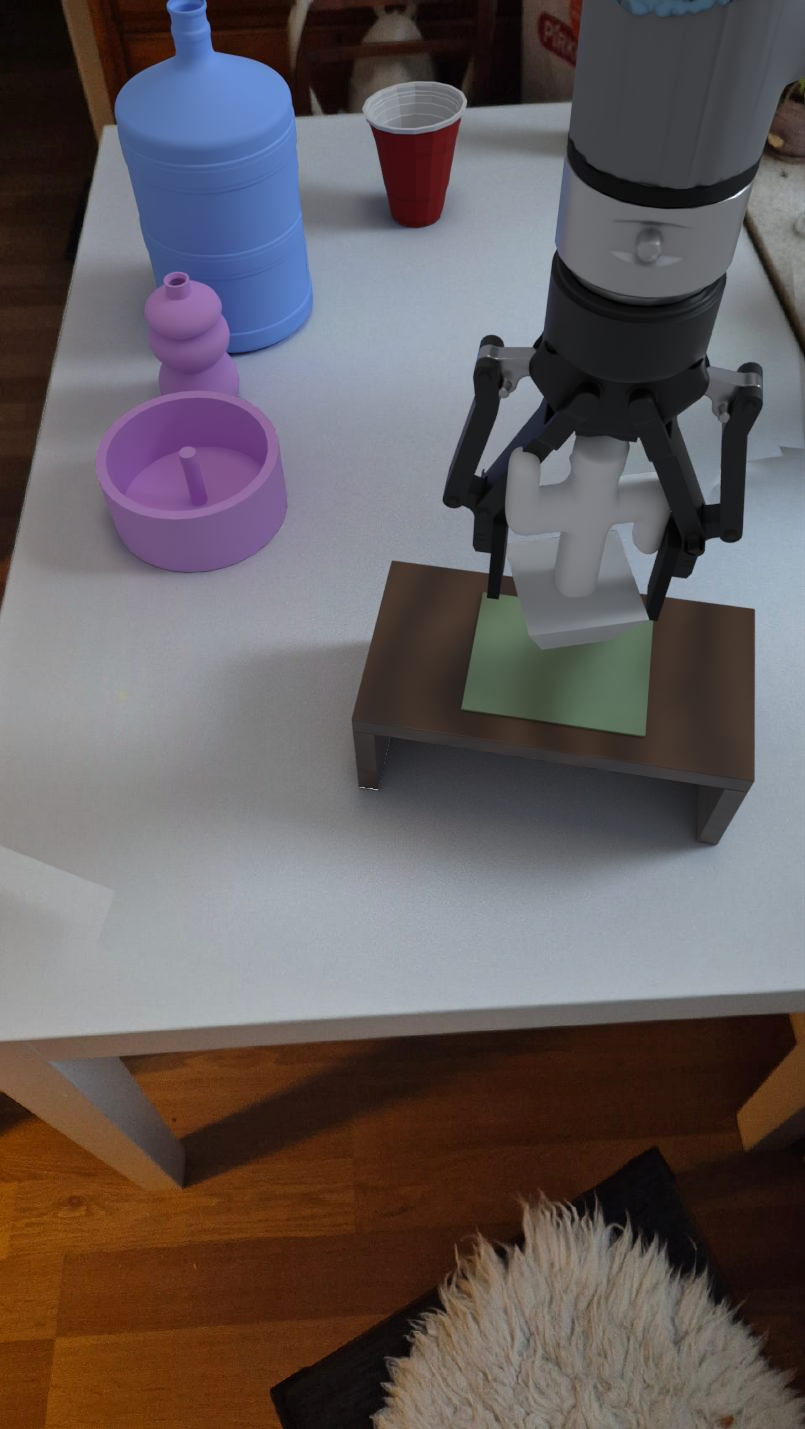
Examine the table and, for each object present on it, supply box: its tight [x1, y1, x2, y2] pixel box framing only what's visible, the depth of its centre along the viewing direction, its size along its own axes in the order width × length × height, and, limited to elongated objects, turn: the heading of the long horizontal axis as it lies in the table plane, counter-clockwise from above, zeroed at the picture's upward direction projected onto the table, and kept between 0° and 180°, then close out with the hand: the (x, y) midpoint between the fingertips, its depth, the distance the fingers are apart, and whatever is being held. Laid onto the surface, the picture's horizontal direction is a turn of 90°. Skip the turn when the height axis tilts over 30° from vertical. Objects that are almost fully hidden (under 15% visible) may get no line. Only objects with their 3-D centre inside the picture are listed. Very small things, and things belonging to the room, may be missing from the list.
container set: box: [94, 272, 288, 573], centre depth 87 cm, size 25×15×13 cm, turn 5°
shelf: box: [351, 559, 756, 846], centre depth 72 cm, size 26×14×10 cm, turn 79°
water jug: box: [114, 0, 314, 354], centre depth 93 cm, size 16×16×28 cm
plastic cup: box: [361, 81, 468, 228], centre depth 108 cm, size 11×11×12 cm
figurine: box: [505, 435, 671, 650], centre depth 58 cm, size 7×9×15 cm
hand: (573, 592), depth 62 cm, fingers closed on figurine, 9 cm apart
